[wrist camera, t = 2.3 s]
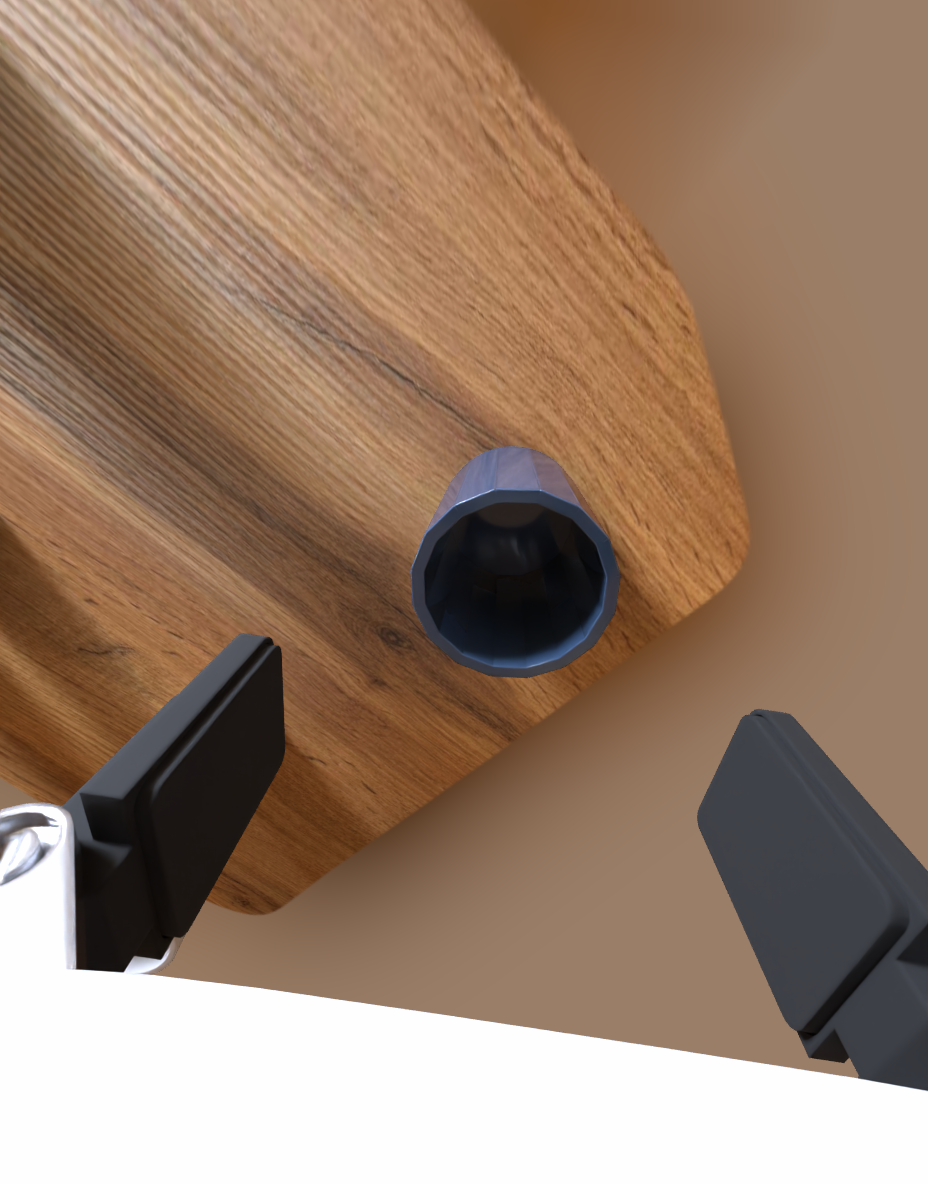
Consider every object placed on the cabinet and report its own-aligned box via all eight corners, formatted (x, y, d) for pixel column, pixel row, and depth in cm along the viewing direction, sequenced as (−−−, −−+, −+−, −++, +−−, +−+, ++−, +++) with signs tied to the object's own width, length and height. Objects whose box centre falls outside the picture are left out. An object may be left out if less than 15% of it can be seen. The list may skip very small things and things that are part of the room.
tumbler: (554, 422, 22) (583, 453, 13) (596, 552, 24) (642, 645, 16) (421, 478, 23) (376, 535, 15) (473, 594, 25) (458, 698, 17)
